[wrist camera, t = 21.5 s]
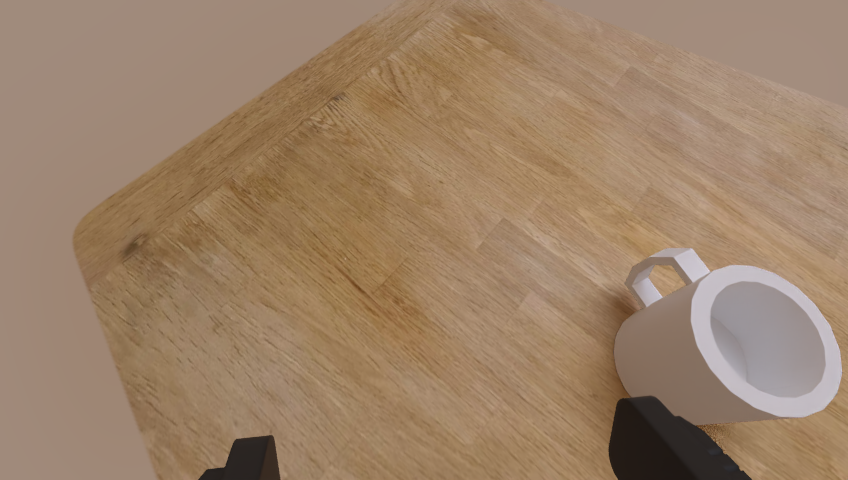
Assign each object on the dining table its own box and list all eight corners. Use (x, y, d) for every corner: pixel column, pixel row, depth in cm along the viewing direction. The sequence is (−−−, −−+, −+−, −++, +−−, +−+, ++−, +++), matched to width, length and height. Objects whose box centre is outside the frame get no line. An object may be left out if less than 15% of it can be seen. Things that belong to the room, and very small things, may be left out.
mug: (570, 303, 40) (630, 257, 31) (653, 261, 43) (732, 207, 33) (663, 449, 36) (767, 449, 26) (750, 392, 38) (874, 373, 29)
